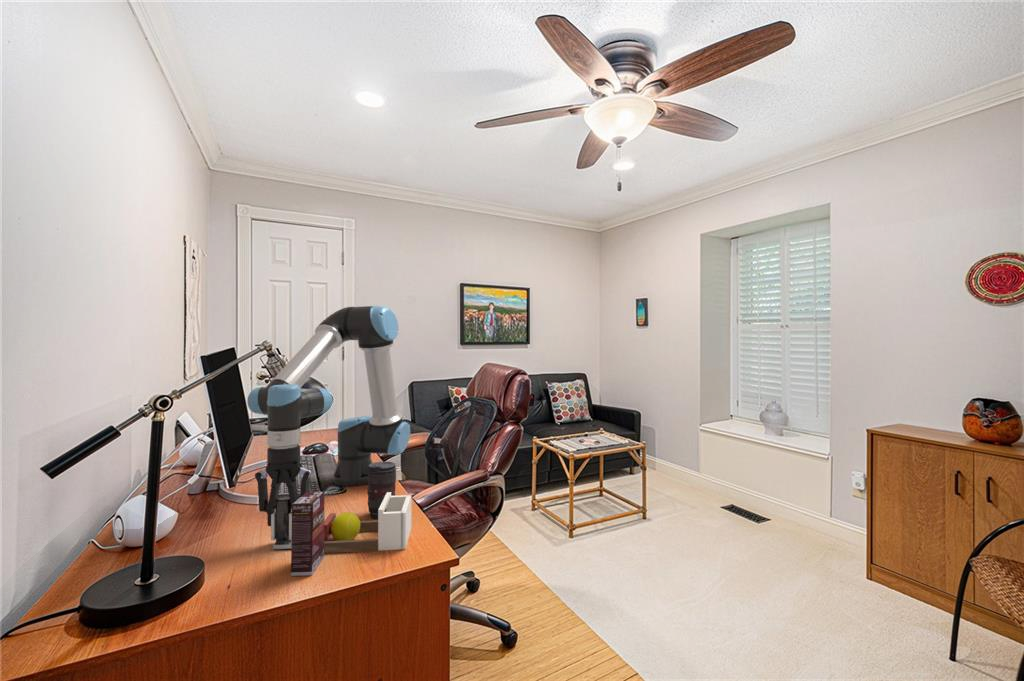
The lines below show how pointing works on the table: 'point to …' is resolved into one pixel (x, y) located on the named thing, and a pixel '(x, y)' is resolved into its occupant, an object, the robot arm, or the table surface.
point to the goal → (394, 522)
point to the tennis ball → (345, 526)
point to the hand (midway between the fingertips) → (283, 537)
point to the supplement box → (307, 533)
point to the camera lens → (380, 484)
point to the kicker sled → (283, 524)
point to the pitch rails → (355, 541)
